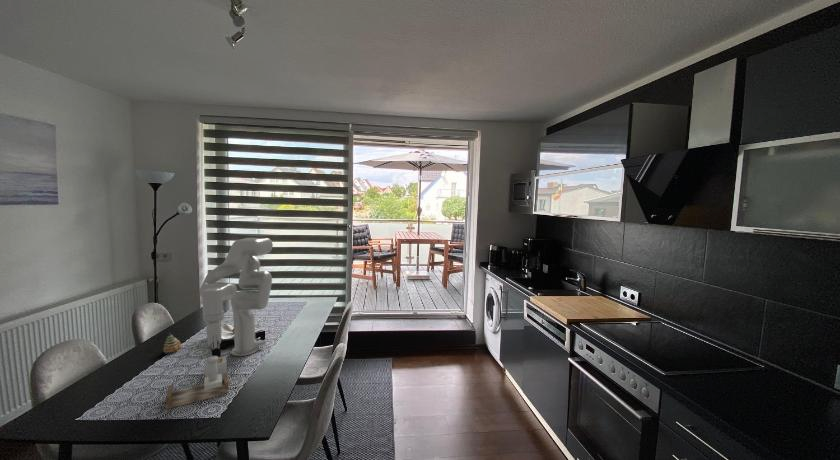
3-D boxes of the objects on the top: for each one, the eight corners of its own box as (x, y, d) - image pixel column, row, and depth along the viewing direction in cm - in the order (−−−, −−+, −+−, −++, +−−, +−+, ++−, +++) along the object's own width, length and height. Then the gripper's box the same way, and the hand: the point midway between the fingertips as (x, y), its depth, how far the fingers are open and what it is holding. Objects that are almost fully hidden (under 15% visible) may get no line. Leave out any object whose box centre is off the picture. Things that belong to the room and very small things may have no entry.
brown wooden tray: (227, 382, 140) (227, 372, 140) (228, 392, 132) (228, 382, 132) (169, 397, 129) (168, 386, 129) (166, 409, 122) (165, 397, 121)
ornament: (168, 348, 172) (167, 330, 171) (182, 346, 174) (181, 328, 173) (162, 355, 165) (160, 336, 164) (176, 353, 167) (175, 334, 166)
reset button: (220, 365, 145) (220, 358, 144) (220, 368, 142) (220, 362, 141) (211, 367, 143) (210, 360, 142) (211, 370, 140) (210, 364, 139)
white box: (226, 373, 148) (226, 356, 147) (227, 380, 142) (226, 362, 141) (205, 378, 143) (204, 360, 143) (205, 385, 137) (204, 367, 137)
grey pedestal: (221, 378, 138) (220, 353, 137) (222, 386, 132) (221, 359, 131) (204, 382, 135) (203, 356, 134) (204, 390, 129) (203, 363, 128)
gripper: (203, 312, 145) (206, 351, 147) (202, 324, 132) (206, 367, 134) (223, 309, 149) (225, 347, 151) (224, 320, 136) (227, 362, 138)
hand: (216, 356), depth 143 cm, fingers closed
